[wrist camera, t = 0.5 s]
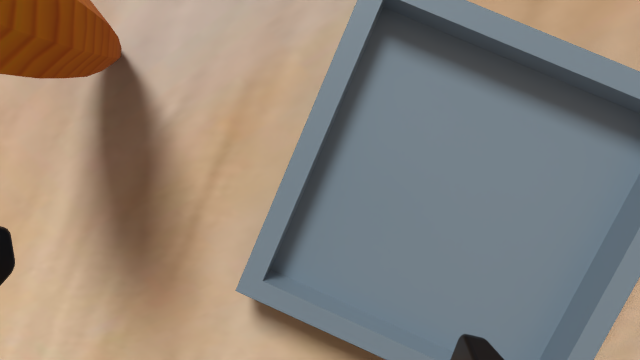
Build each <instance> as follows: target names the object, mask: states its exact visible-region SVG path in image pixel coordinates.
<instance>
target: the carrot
mask: <svg viewBox="0 0 640 360" xmlns="http://www.w3.org/2000/svg"><path fill="white" fill-rule="evenodd" d="M120 57H121V45H120V42H119V39H118V36H117V35H116V33H115V32H114V31H113V29H112V28H111V26H110V25H109V24H108V22H107V21H106V20H105V19H104V17H103V16H102V15H101V13H100V12H99V11H98V10H97V8H96V7H95V6H94V4H93V3H92V2H91V1H90V0H0V74H6V75H15V76H23V77H32V78H73V77H87V76H89V75H92V74H95V73H98V72H100V71H103V70H104V69H106V68H107V67H109V66H110V65H111V64H113V63H114V62H116V61H117V60H118V59H119V58H120Z"/></svg>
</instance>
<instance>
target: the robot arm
mask: <svg viewBox="0 0 640 360" xmlns="http://www.w3.org/2000/svg"><path fill="white" fill-rule="evenodd" d="M14 266H15V258H14V252H13V246H12V239H11V234H10V232H9V231H8V229H6V228H4V227H1V226H0V285H1V284H2V283H3V282H4V281H5V280H6V279H7V278H8V277H9V275H10V274H11V273H12V271H13V269H14ZM450 360H504V359H503V358H502V356H501V355H500V354H499V353H498V352H497V351H496V350H495V349H494V347H493V346H492V345H491V344H490V343H489V342H488V341H487V340H486V339H484V338H482V337H478V336H474V335H469V334H462V335H461V336H460V337H459V339H458V341H457V344H456V347H455V349H454V352H453V354H452V357H451V359H450Z"/></svg>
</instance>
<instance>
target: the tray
mask: <svg viewBox="0 0 640 360" xmlns="http://www.w3.org/2000/svg"><path fill="white" fill-rule="evenodd" d="M639 277H640V72H639V71H637V70H634V69H632V68H629V67H627V66H625V65H622V64H620V63H617V62H615V61H612V60H610V59H608V58H605V57H603V56H600V55H598V54H595V53H593V52H590V51H588V50H586V49H583V48H581V47H578V46H576V45H573V44H571V43H569V42H566V41H564V40H561V39H559V38H556V37H554V36H551V35H549V34H547V33H544V32H542V31H539V30H537V29H534V28H532V27H530V26H527V25H525V24H522V23H520V22H517V21H515V20H512V19H510V18H508V17H505V16H503V15H500V14H498V13H495V12H493V11H491V10H488V9H486V8H483V7H481V6H478V5H476V4H474V3H471V2H469V1H466V0H357V3H356V5H355V7H354V10H353V12H352V15H351V17H350V19H349V22H348V24H347V26H346V29H345V31H344V34H343V36H342V38H341V41H340V43H339V46H338V48H337V50H336V53H335V55H334V57H333V60H332V62H331V65H330V67H329V69H328V72H327V74H326V76H325V79H324V81H323V84H322V86H321V88H320V91H319V93H318V96H317V98H316V100H315V103H314V105H313V107H312V110H311V112H310V115H309V117H308V119H307V122H306V124H305V126H304V129H303V131H302V134H301V136H300V138H299V141H298V143H297V146H296V148H295V150H294V153H293V155H292V157H291V160H290V162H289V165H288V167H287V169H286V172H285V174H284V177H283V179H282V181H281V184H280V186H279V188H278V191H277V193H276V196H275V198H274V200H273V203H272V205H271V207H270V210H269V212H268V215H267V217H266V219H265V222H264V224H263V227H262V229H261V231H260V234H259V236H258V238H257V241H256V243H255V246H254V248H253V250H252V253H251V255H250V258H249V260H248V262H247V265H246V267H245V269H244V272H243V274H242V277H241V279H240V281H239V284H238V286H237V288H236V291H237V292H239V293H241V294H244V295H246V296H248V297H250V298H252V299H255V300H257V301H259V302H261V303H263V304H266V305H268V306H270V307H272V308H274V309H276V310H279V311H281V312H283V313H285V314H287V315H290V316H292V317H294V318H296V319H298V320H301V321H303V322H305V323H307V324H309V325H311V326H314V327H316V328H318V329H320V330H322V331H325V332H327V333H329V334H331V335H333V336H336V337H338V338H340V339H342V340H344V341H346V342H349V343H351V344H353V345H355V346H357V347H360V348H362V349H364V350H366V351H368V352H371V353H373V354H375V355H377V356H379V357H381V358H384V359H386V360H450V359H451V357H452V354H453V352H454V349H455V347H456V344H457V341H458V339H459V337H460V336H461V335H462V334H469V335H474V336H478V337H482V338H484V339H486V340H487V341H488V342H489V343H490V344H491V345H492V346H493V347H494V349H495V350H496V351H497V352H498V353H499V354H500V355H501V356H502V358H503V359H504V360H594V358H595V356H596V354H597V353H598V351H599V349H600V347H601V345H602V344H603V342H604V340H605V338H606V336H607V335H608V333H609V331H610V329H611V327H612V326H613V324H614V322H615V320H616V319H617V317H618V315H619V313H620V311H621V310H622V308H623V306H624V304H625V302H626V301H627V299H628V297H629V295H630V293H631V292H632V290H633V288H634V286H635V284H636V283H637V281H638V279H639Z"/></svg>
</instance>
